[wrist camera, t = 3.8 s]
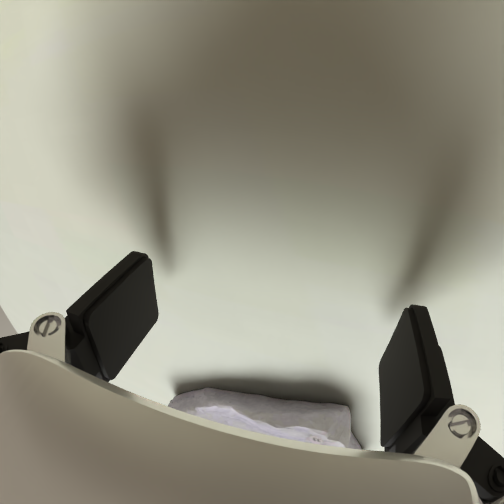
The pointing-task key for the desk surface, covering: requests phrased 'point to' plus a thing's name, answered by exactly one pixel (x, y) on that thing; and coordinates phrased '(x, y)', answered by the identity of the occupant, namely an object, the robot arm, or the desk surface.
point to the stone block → (272, 416)
